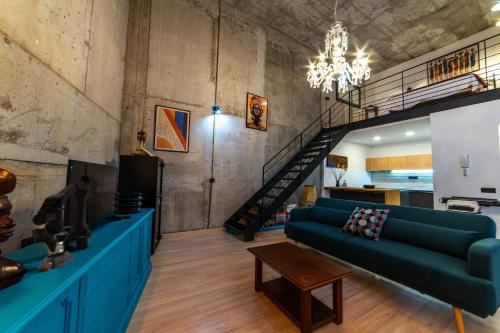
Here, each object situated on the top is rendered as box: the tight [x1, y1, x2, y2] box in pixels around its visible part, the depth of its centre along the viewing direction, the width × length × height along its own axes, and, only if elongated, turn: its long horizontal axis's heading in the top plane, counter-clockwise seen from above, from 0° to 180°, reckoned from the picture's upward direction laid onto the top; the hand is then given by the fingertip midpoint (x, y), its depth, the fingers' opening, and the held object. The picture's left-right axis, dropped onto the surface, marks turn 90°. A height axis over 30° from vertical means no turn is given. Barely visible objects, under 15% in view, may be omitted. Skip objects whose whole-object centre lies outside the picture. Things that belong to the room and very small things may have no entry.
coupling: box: [50, 241, 65, 254], centre depth 103 cm, size 5×5×5 cm
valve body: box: [37, 251, 75, 272], centre depth 103 cm, size 14×10×5 cm
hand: (56, 250), depth 103 cm, fingers closed on coupling, 5 cm apart
